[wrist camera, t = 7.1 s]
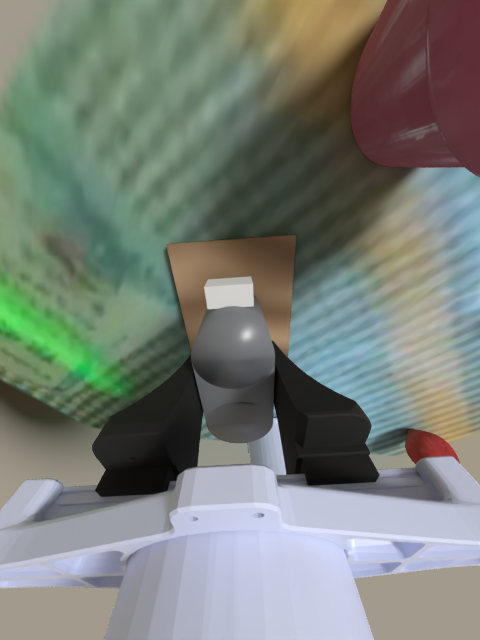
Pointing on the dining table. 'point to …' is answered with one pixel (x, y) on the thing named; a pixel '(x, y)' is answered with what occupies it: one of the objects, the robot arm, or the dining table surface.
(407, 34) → the plant pot
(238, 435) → the grey rounded bottle
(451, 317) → the dining table surface
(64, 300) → the dining table surface
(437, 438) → the onion
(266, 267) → the walnut pad
